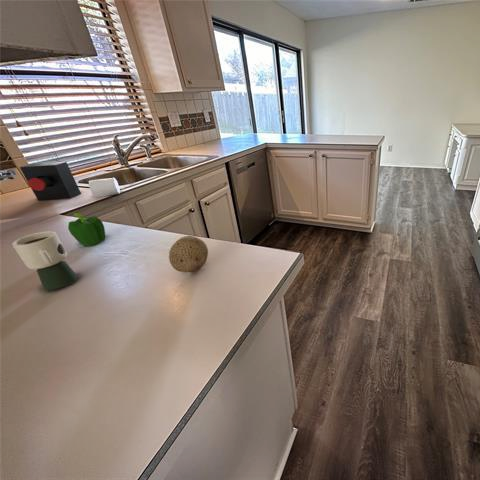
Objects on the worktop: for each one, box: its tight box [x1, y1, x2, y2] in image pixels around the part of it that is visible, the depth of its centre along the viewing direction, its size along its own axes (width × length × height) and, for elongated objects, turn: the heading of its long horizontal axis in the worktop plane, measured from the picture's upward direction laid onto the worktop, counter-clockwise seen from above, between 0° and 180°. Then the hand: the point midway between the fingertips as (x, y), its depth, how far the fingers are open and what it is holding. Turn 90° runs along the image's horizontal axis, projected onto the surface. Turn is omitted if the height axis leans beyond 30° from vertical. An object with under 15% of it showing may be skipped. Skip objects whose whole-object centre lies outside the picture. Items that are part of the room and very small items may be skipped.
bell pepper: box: [67, 212, 106, 247], centre depth 82 cm, size 8×8×10 cm
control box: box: [19, 161, 82, 202], centre depth 126 cm, size 8×14×16 cm, turn 101°
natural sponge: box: [168, 235, 209, 274], centre depth 66 cm, size 9×9×10 cm
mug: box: [88, 177, 121, 198], centre depth 130 cm, size 12×10×8 cm
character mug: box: [12, 230, 78, 291], centre depth 62 cm, size 11×7×13 cm, turn 51°
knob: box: [27, 177, 51, 191], centre depth 120 cm, size 6×6×6 cm
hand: (12, 171), depth 107 cm, fingers closed
